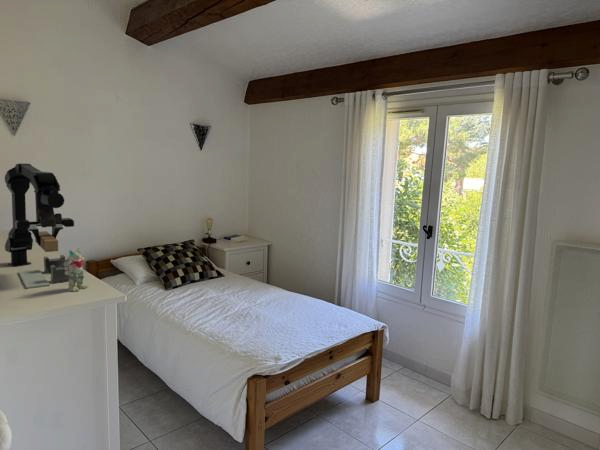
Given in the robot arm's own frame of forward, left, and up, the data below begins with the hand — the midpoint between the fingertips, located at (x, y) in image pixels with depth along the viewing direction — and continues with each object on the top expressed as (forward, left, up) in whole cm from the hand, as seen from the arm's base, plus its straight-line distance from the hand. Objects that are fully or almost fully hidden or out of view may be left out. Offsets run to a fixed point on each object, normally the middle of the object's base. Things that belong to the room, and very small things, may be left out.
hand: (46, 245), depth 156 cm
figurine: (+22, -2, -13) cm, 26 cm away
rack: (+1, +3, -13) cm, 13 cm away
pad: (-1, -5, -13) cm, 14 cm away
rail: (0, 0, 0) cm, 0 cm away
